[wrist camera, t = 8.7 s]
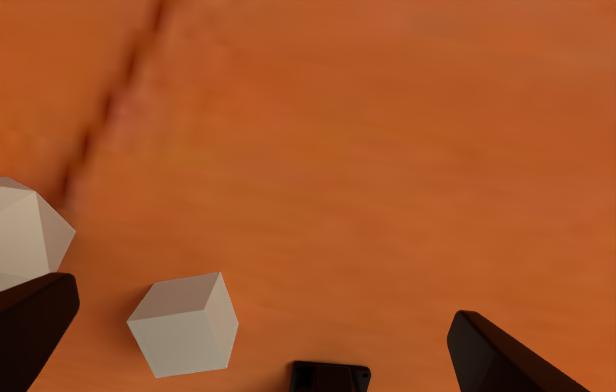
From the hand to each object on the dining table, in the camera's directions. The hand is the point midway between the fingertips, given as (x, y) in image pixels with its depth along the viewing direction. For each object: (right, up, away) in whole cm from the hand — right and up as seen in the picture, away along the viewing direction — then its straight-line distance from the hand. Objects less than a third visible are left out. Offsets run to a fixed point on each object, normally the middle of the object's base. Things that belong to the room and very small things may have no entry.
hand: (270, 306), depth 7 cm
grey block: (-7, -6, +16) cm, 19 cm away
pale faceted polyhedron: (-18, +1, +14) cm, 22 cm away
